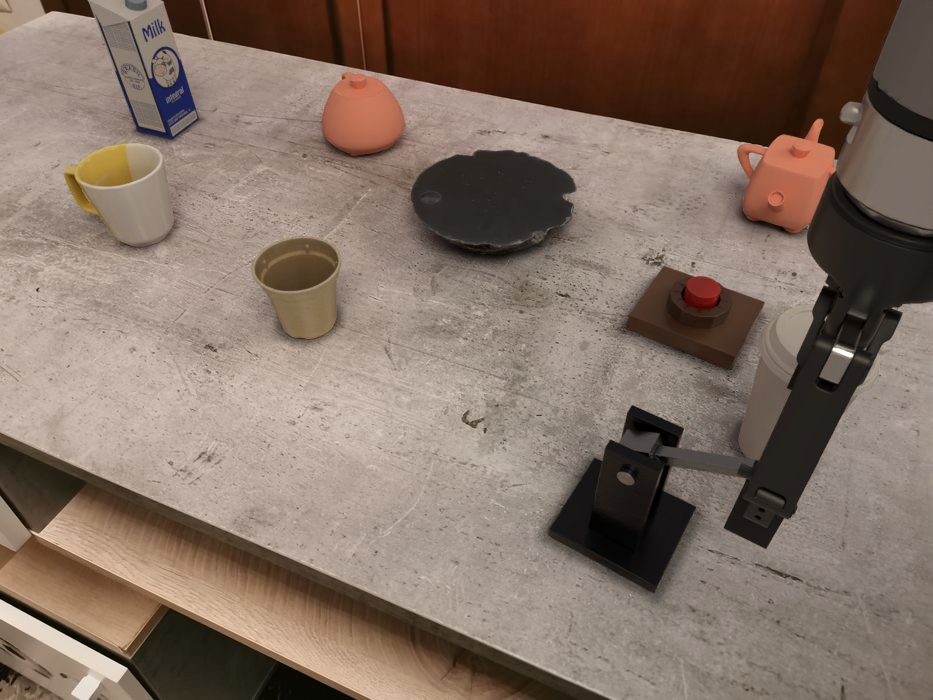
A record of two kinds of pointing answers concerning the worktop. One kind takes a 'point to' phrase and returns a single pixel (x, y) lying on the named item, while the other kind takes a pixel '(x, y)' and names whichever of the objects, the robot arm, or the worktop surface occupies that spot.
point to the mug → (125, 191)
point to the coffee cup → (780, 377)
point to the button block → (695, 319)
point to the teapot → (787, 179)
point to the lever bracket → (627, 508)
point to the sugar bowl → (362, 115)
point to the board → (493, 200)
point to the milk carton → (147, 64)
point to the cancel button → (702, 292)
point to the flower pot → (300, 283)
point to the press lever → (682, 454)
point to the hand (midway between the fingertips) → (778, 458)
